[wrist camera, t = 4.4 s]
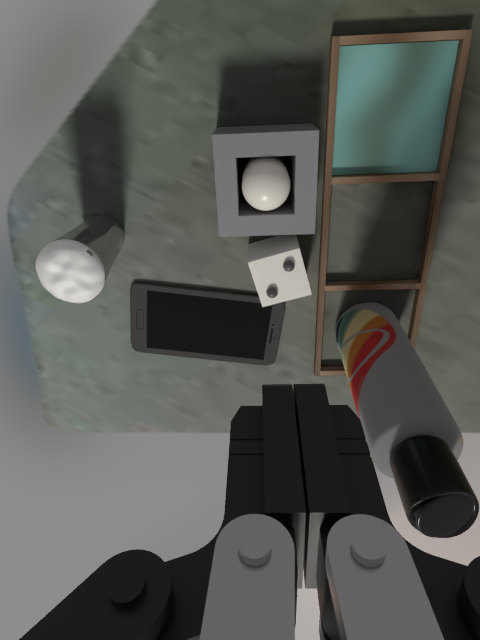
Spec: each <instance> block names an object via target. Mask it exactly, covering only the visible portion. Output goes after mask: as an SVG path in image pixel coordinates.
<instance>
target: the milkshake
mask: <svg viewBox="0 0 480 640" xmlns="http://www.w3.org/2000/svg"><path fill="white" fill-rule="evenodd" d="M123 241H124V230H123V229H122V227H121V225H120V224H119V222H118V221H117V220H116V219H114V218H112V217H110V216H108V215H97V216H93V217H91V218H90V219H88V220H87V221H85V222H83V223H82V224H80V225H79V226H77V227H76V228H74V229H73V230H71V231H70V232H68V233H67V234H65V235H63V236H61V237H60V238H58V239H56V240H54V241H53V242H51V243H49V244H48V245H46V246H45V247H44V248H43V249H42V250H41V252H40V253H39V255H38V257H37V260H36V271H37V274H38V276H39V279H40V281H41V283H42V285H43V287H44V288H45V289H47V290H48V291H49V292H50V293H51V294H52V295H54V296H55V297H57V298H59V299H61V300H64V301H68V302H72V303H84V302H88V301H90V300H92V299H93V298H94V297H96V296H97V295H98V294H99V293H100V292H101V290H102V288H103V286H104V283H105V281H106V278H107V276H108V274H109V271H110V269H111V267H112V265H113V263H114V261H115V259H116V257H117V255H118V253H119V251H120V249H121V247H122V245H123Z"/></svg>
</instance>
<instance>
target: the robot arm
mask: <svg viewBox="0 0 480 640" xmlns="http://www.w3.org/2000/svg"><path fill="white" fill-rule="evenodd" d="M262 394H263V406H241V407H240V408H239V410H238V411H237V413H236V415H235V416H234V418H233V419H232V421H231V431H230V445H229V460H228V474H227V487H226V501H225V514H224V520H223V523H222V526H221V528H220V530H219V532H218V533H217V535H216V536H215V537H214V538H213V539H212V540H211V541H210V542H209V543H208V544H207V545H206V546H205V547H203V548H201V549H199V550H198V551H196V552H193V553H191V554H188V555H185V556H182V557H179V558H176V559H173V560H170V561H167V562H164V561H163V560H162V559H161V558H160V557H159V556H157V555H155V554H154V553H152V552H150V551H145V550H129V551H126V552H122V553H119V554H117V555H115V556H113V557H112V558H110V559H109V560H107V561H106V562H105V563H103V564H102V565H101V566H100V567H99V568H98V569H97V570H96V571H95V572H94V573H92V574H91V575H90V576H89V577H88V578H87V579H86V580H85V581H84V582H83V583H81V584H80V585H79V586H78V587H77V588H76V589H75V590H74V591H73V592H71V593H70V594H69V595H68V596H67V597H66V598H65V599H64V600H62V601H61V602H60V603H59V604H58V605H57V606H56V607H55V608H54V609H53V610H51V611H50V612H49V613H48V614H47V615H46V616H45V617H44V618H43V619H42V620H40V621H39V622H38V623H37V624H36V625H35V626H34V627H33V628H32V629H30V630H29V631H28V632H27V633H26V634H25V635H24V636H23V637H22V638H20V639H19V640H295V636H294V635H295V634H294V633H295V624H296V603H297V588H302V578H303V569H304V579H305V588H317V590H318V599H319V607H320V620H319V634H320V640H480V556H479V557H477V558H475V559H474V560H473V561H471V563H470V564H469V565H468V566H465V565H462V564H459V563H455V562H452V561H449V560H446V559H443V558H440V557H437V556H433V555H431V554H428V553H425V552H423V551H421V550H420V549H418V548H416V547H415V546H413V545H412V544H410V543H409V542H408V541H406V540H405V539H404V538H403V537H402V536H401V534H400V533H399V532H398V531H397V530H396V529H395V527H394V526H393V524H392V522H391V521H390V518H389V516H388V513H387V510H386V506H385V503H384V499H383V496H382V492H381V489H380V486H379V482H378V478H377V475H376V472H375V468H374V465H373V461H372V458H371V457H370V451H369V447H368V444H367V442H366V437H365V434H364V430H363V427H362V423H361V420H360V419H359V418H358V417H357V416H356V414H355V413H354V412H353V411H352V410H351V409H350V408H349V406H348V405H329V402H328V398H327V393H326V388H325V385H324V384H294V388H293V389H292V384H273V385H262Z"/></svg>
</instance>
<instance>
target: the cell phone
mask: <svg viewBox="0 0 480 640" xmlns="http://www.w3.org/2000/svg"><path fill="white" fill-rule="evenodd" d="M130 313H131V344H132V348H133V349H134V350H135V351H138V352H144V353H153V354H162V355H171V356H181V357H190V358H200V359H209V360H218V361H228V362H237V363H246V364H256V365H271V364H273V363H274V362H275V359H276V356H277V351H278V345H279V340H280V334H281V329H282V324H283V318H284V313H285V302H281V303H277V304H273V305H269V306H265V307H262V304H261V301H260V298H259V295H257V294H248V293H239V292H230V291H221V290H212V289H203V288H193V287H184V286H175V285H166V284H157V283H148V282H135V283H133V284H132V286H131V291H130Z"/></svg>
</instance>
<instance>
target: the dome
mask: <svg viewBox="0 0 480 640" xmlns="http://www.w3.org/2000/svg"><path fill="white" fill-rule="evenodd" d="M242 192H243V195H244V197H245V199H246V201H247V202H248V203H249V204H250V205H251V206H252V207H254V208H256V209H258V210H263V211H268V210H273V209H276V208H277V207H279V206H280V205H282V204H283V203H284V202H285V200H286V199H287V197H288V195H289V192H290V178H289V175H288V171H287V168H286V166H285V164H284V162H283V161H282V160H281V159H280V158H279V157H278V156H268V157H252V158H251V159H250V160H249V161H248V162H247V163H246V165H245V167H244V170H243V176H242Z"/></svg>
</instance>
